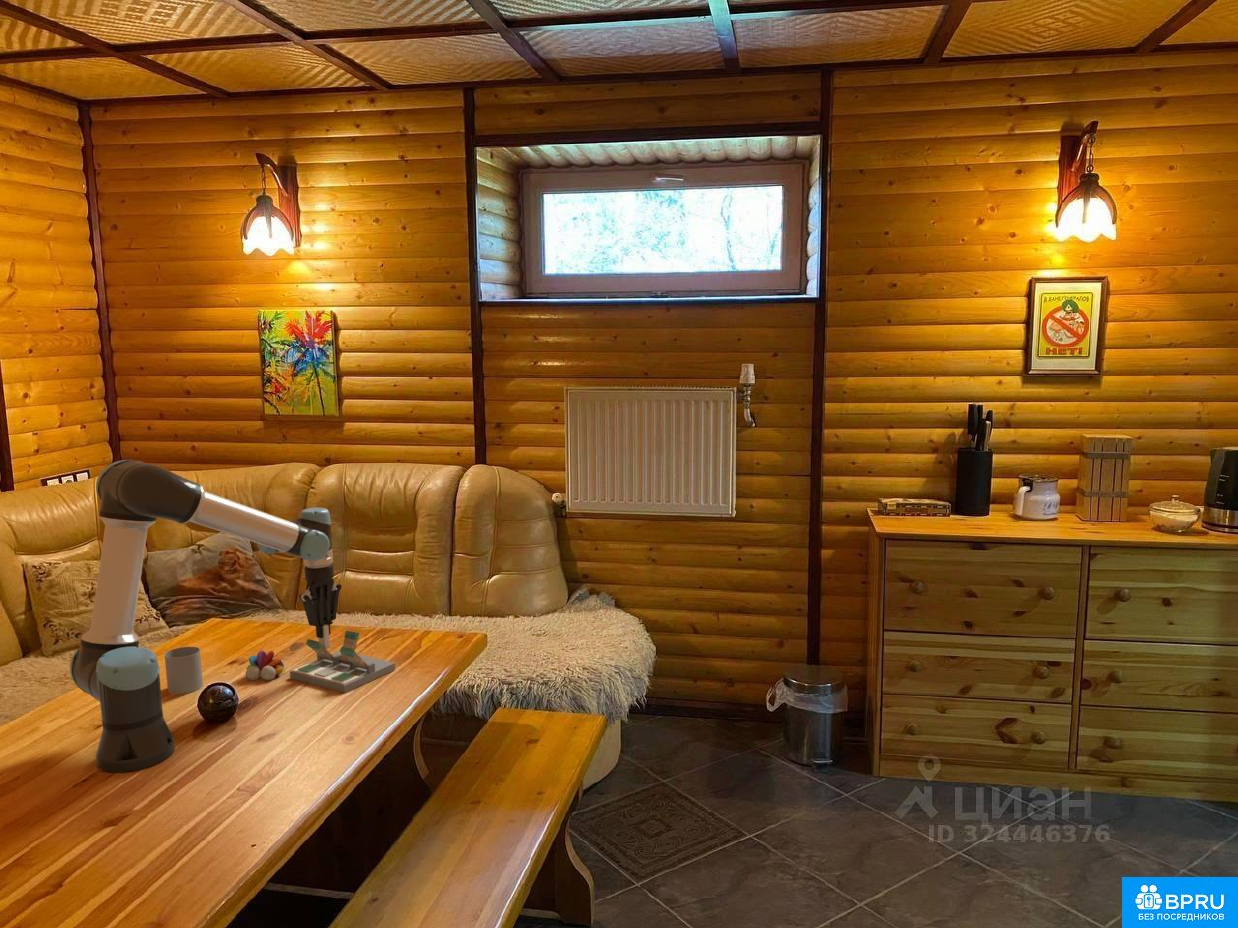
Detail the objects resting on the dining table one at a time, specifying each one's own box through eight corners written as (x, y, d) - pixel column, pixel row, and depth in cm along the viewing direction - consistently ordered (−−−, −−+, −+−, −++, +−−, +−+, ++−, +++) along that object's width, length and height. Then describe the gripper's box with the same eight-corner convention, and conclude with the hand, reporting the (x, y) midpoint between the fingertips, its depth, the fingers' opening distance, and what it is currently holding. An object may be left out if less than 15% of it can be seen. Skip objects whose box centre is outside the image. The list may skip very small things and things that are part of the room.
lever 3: (368, 671, 235) (350, 653, 229) (356, 668, 237) (338, 650, 231) (370, 666, 236) (353, 649, 230) (359, 663, 238) (341, 646, 232)
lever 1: (334, 662, 242) (315, 645, 236) (323, 659, 244) (304, 643, 238) (336, 658, 242) (318, 641, 236) (325, 655, 244) (307, 638, 239)
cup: (209, 682, 234) (206, 646, 233) (191, 694, 226) (188, 658, 225) (179, 681, 235) (176, 646, 234) (160, 694, 227) (157, 657, 226)
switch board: (345, 692, 226) (344, 677, 225) (290, 678, 237) (289, 663, 236) (395, 669, 241) (394, 655, 241) (341, 656, 252) (340, 642, 251)
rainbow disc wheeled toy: (276, 682, 234) (274, 656, 233) (241, 682, 234) (239, 656, 233) (289, 670, 243) (287, 645, 241) (254, 670, 243) (252, 645, 242)
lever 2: (348, 665, 238) (356, 632, 239) (337, 662, 240) (345, 630, 242) (352, 665, 239) (360, 632, 241) (341, 662, 241) (348, 630, 243)
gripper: (309, 572, 230) (315, 657, 234) (346, 560, 241) (352, 642, 245) (289, 568, 234) (296, 652, 237) (327, 557, 245) (333, 638, 248)
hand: (324, 647), depth 241 cm, fingers closed
